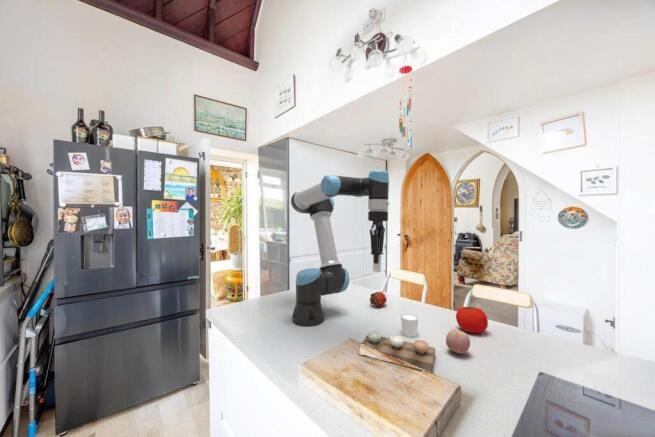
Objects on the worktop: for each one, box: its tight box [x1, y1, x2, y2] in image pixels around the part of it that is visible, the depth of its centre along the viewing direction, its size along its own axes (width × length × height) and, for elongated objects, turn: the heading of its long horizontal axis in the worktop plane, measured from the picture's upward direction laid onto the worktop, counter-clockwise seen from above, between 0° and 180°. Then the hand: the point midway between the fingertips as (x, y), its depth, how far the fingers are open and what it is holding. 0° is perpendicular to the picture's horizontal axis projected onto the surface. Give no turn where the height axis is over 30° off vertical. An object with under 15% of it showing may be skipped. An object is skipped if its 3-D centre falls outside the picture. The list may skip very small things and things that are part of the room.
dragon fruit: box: [369, 291, 388, 308], centre depth 142 cm, size 8×8×12 cm
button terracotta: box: [413, 339, 429, 355], centre depth 88 cm, size 5×5×6 cm
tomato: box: [455, 305, 489, 334], centre depth 111 cm, size 12×12×10 cm
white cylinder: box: [400, 313, 419, 338], centre depth 108 cm, size 7×7×7 cm
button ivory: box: [389, 334, 405, 349], centre depth 91 cm, size 5×5×6 cm
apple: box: [445, 329, 471, 355], centre depth 93 cm, size 8×8×8 cm
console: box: [361, 334, 436, 373], centre depth 91 cm, size 24×11×3 cm, turn 63°
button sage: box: [367, 330, 382, 344], centre depth 95 cm, size 5×5×6 cm
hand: (376, 271), depth 102 cm, fingers closed
